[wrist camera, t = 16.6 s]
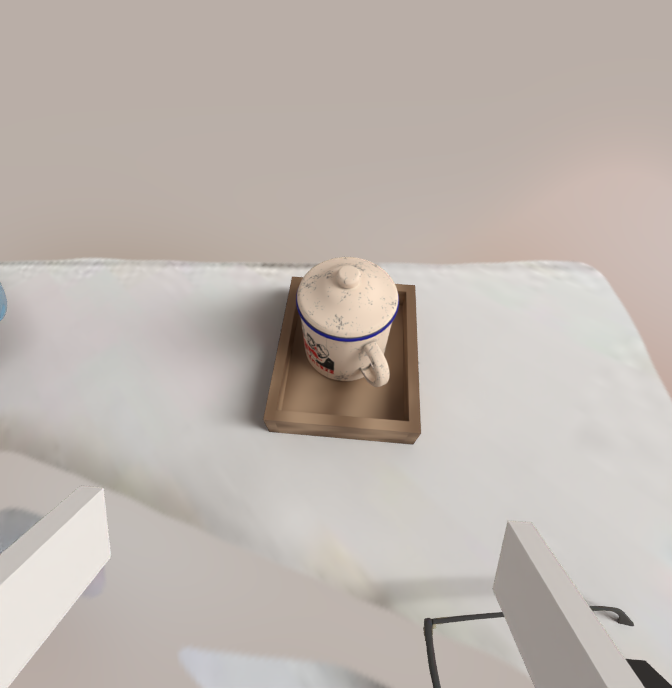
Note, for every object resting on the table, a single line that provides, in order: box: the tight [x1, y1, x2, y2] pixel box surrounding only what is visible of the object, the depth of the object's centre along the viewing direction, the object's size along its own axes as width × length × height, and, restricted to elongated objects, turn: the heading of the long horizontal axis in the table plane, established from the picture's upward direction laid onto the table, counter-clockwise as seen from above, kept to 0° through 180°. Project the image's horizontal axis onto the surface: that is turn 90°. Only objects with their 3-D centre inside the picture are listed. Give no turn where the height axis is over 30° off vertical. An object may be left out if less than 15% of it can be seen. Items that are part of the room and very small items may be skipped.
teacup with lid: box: [296, 257, 399, 387], centre depth 33 cm, size 12×9×12 cm
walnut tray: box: [263, 277, 421, 444], centre depth 37 cm, size 14×17×4 cm
